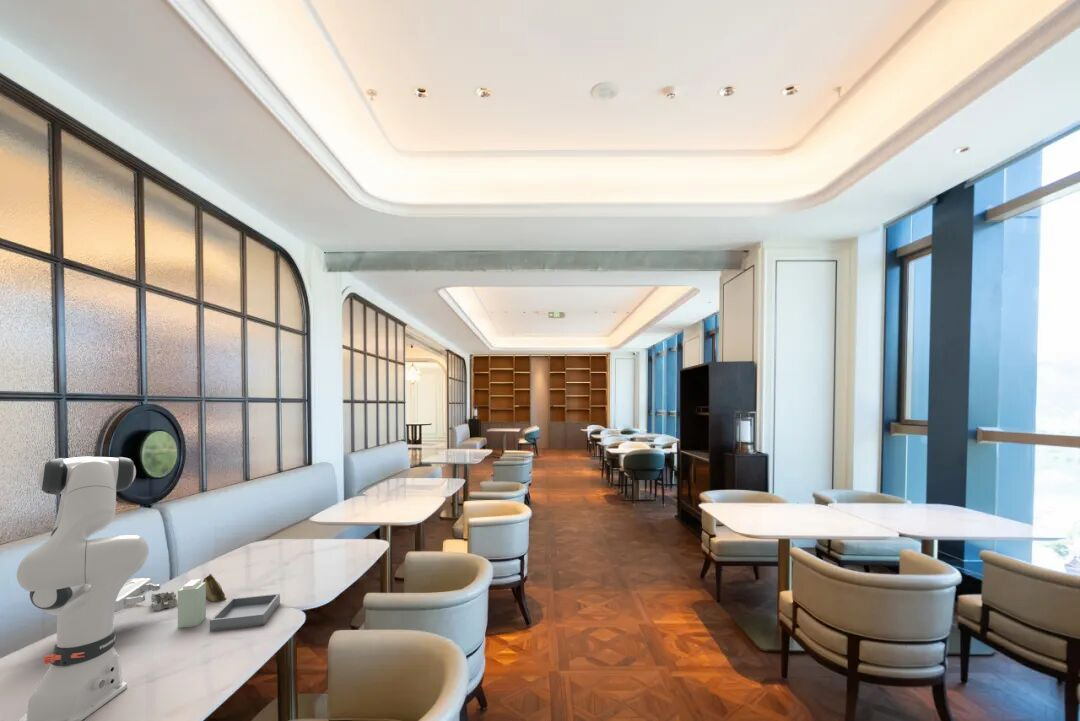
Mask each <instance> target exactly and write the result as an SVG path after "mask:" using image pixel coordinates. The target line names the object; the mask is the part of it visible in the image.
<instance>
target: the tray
mask: <svg viewBox="0 0 1080 721" xmlns="http://www.w3.org/2000/svg"><path fill="white" fill-rule="evenodd" d="M280 604H281V594H280V593H274V594H263V595H262V594H261V595H254V596H253V595H252V596H243V597H241V596H240V597H233V598H230V599H229V601H228V602H226V603H225V604H224V606H223V607H221V608H220V609H219V611H217V613H215V615H214V616H212V617H211V619H209V632H214V631H215V632H217V631H224V630H234V629H243V628H251V627H253V628H254V627H261V626H265V624H266V623H267V621H268V620H269V619H270V618H271V616H272V614H273V613H274V612H275V611H276V610H277V608H278V606H280Z"/></svg>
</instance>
